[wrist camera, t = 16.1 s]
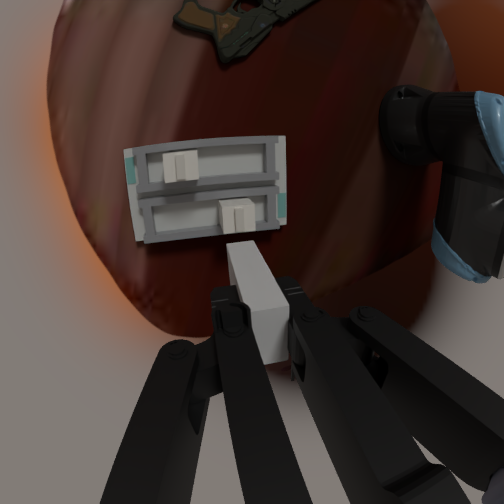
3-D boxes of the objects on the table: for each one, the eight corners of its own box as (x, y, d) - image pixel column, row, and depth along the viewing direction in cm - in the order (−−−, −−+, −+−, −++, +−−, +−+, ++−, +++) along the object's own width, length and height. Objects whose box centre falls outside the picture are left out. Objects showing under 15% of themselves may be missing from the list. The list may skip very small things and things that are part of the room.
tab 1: (196, 149, 34) (197, 150, 29) (198, 174, 35) (199, 179, 30) (166, 152, 33) (161, 154, 28) (168, 177, 35) (164, 183, 30)
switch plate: (281, 136, 37) (289, 135, 34) (283, 221, 42) (289, 227, 40) (126, 149, 33) (120, 149, 30) (137, 237, 38) (134, 245, 36)
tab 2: (246, 196, 38) (255, 205, 33) (247, 219, 39) (256, 232, 34) (217, 198, 37) (222, 208, 32) (219, 222, 39) (224, 235, 33)
